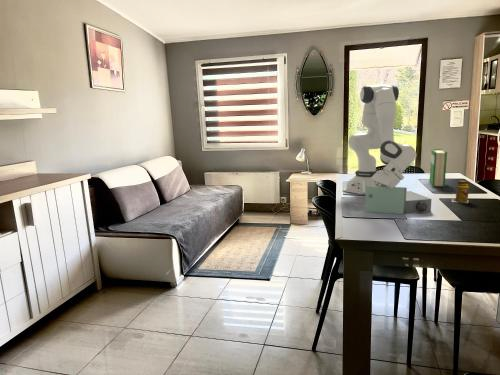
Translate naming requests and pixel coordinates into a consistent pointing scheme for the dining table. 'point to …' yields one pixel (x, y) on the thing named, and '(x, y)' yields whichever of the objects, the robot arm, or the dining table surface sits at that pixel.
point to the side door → (385, 199)
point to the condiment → (462, 192)
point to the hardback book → (438, 167)
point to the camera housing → (417, 203)
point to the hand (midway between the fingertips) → (374, 190)
